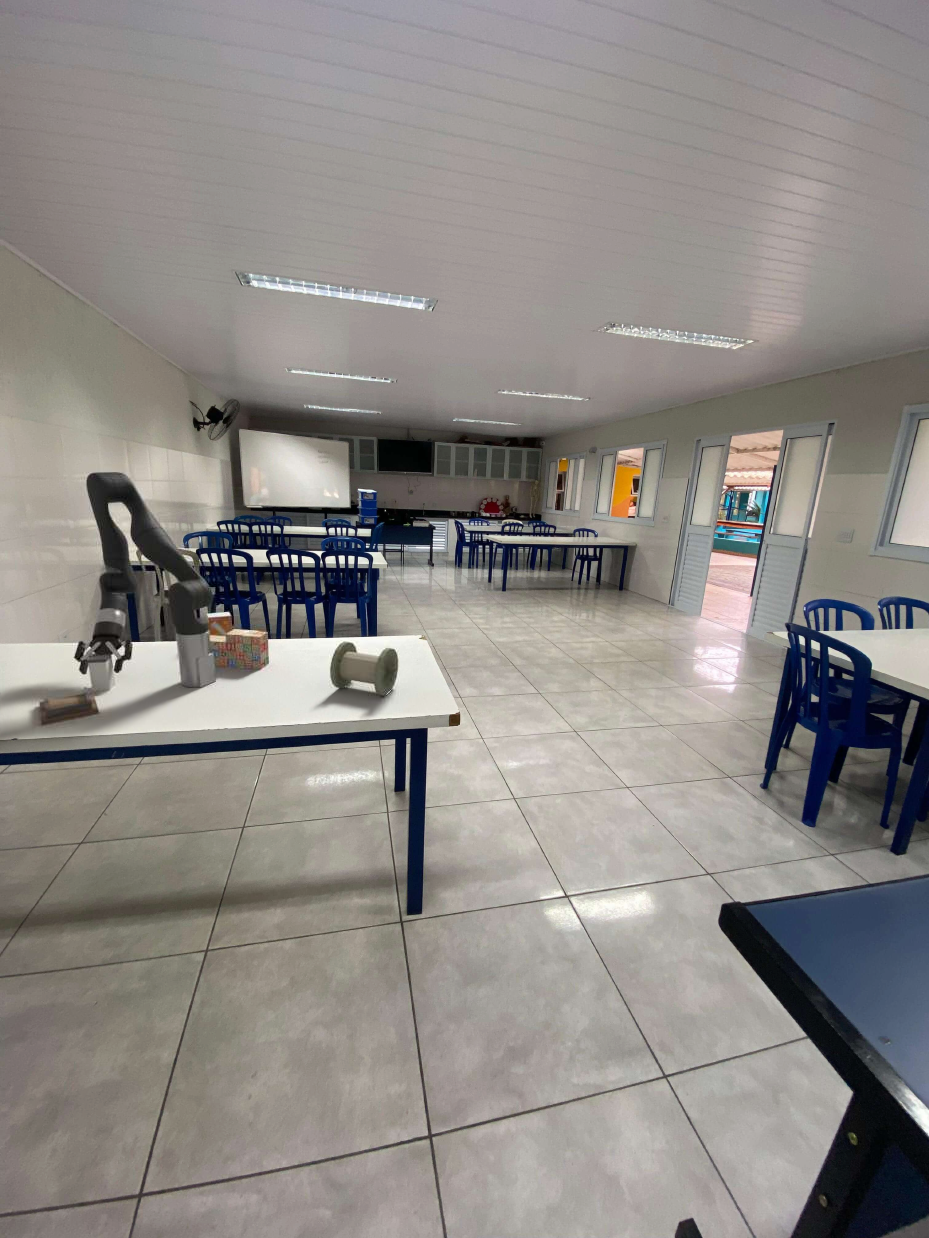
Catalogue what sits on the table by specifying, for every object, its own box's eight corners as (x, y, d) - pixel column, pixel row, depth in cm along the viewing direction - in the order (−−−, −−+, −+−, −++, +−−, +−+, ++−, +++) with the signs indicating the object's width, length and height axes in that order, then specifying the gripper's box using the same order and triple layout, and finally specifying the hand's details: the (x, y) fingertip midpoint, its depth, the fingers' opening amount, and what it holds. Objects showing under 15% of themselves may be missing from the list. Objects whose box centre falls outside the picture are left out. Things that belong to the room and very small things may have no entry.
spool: (397, 685, 162) (398, 643, 159) (378, 703, 148) (378, 657, 145) (353, 677, 167) (353, 636, 163) (330, 694, 153) (329, 649, 149)
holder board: (98, 713, 133) (97, 702, 132) (41, 725, 125) (39, 714, 124) (93, 695, 143) (91, 685, 142) (40, 705, 135) (37, 695, 134)
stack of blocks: (202, 665, 170) (199, 631, 167) (213, 659, 176) (210, 626, 173) (261, 669, 169) (259, 636, 166) (269, 663, 175) (267, 631, 172)
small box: (210, 650, 185) (207, 617, 181) (208, 645, 190) (205, 613, 186) (233, 647, 189) (231, 615, 186) (231, 642, 194) (228, 611, 191)
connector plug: (115, 684, 151) (111, 654, 148) (109, 689, 147) (105, 659, 144) (98, 685, 150) (93, 654, 147) (92, 690, 146) (87, 659, 143)
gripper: (78, 620, 148) (66, 669, 141) (131, 619, 152) (122, 666, 145) (88, 632, 155) (77, 678, 147) (139, 630, 159) (131, 676, 151)
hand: (100, 672), depth 146 cm, fingers open, 8 cm apart
